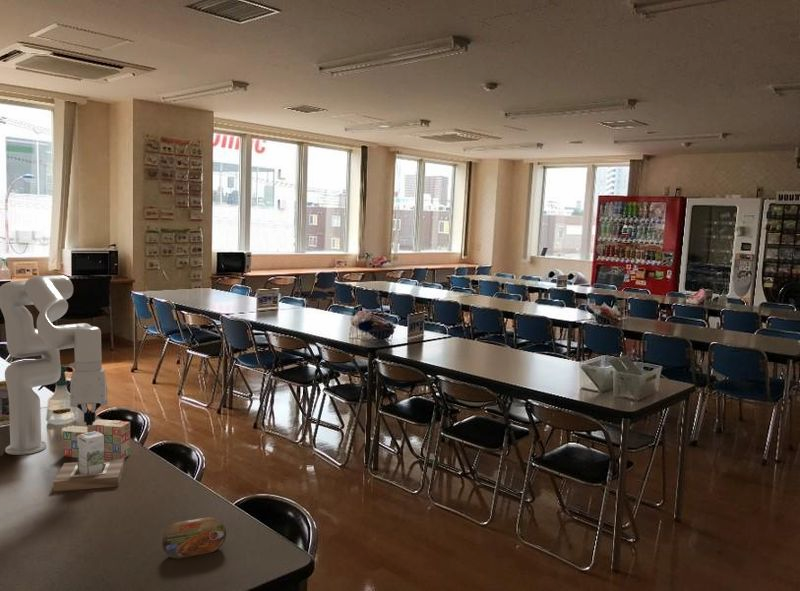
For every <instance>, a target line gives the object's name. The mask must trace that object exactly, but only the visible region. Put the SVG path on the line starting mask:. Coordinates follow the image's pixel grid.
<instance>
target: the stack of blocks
mask: <svg viewBox="0 0 800 591" xmlns="http://www.w3.org/2000/svg"><path fill="white" fill-rule="evenodd" d="M94 431H96V432H99V433H101V434H102V435H104V460H117V459H124V460H125V459H127V458H128V457H129V455H130V456H131V421H125V420H124V421H123V420H116V419H114V420H111V419H110V420H109V419H95V422H93V424H92V425H86V426H78V425H72V426H70V427H69V428H67V429H65V430H63V431H62V440H63V441H62V442H63V457H67V458H68V457H69V458H75V459H76V458H77V459H78V446H77V436H78V435H81V434H85V433H89V432H94ZM127 456H128V457H127ZM126 457H127V458H126Z"/></svg>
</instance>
